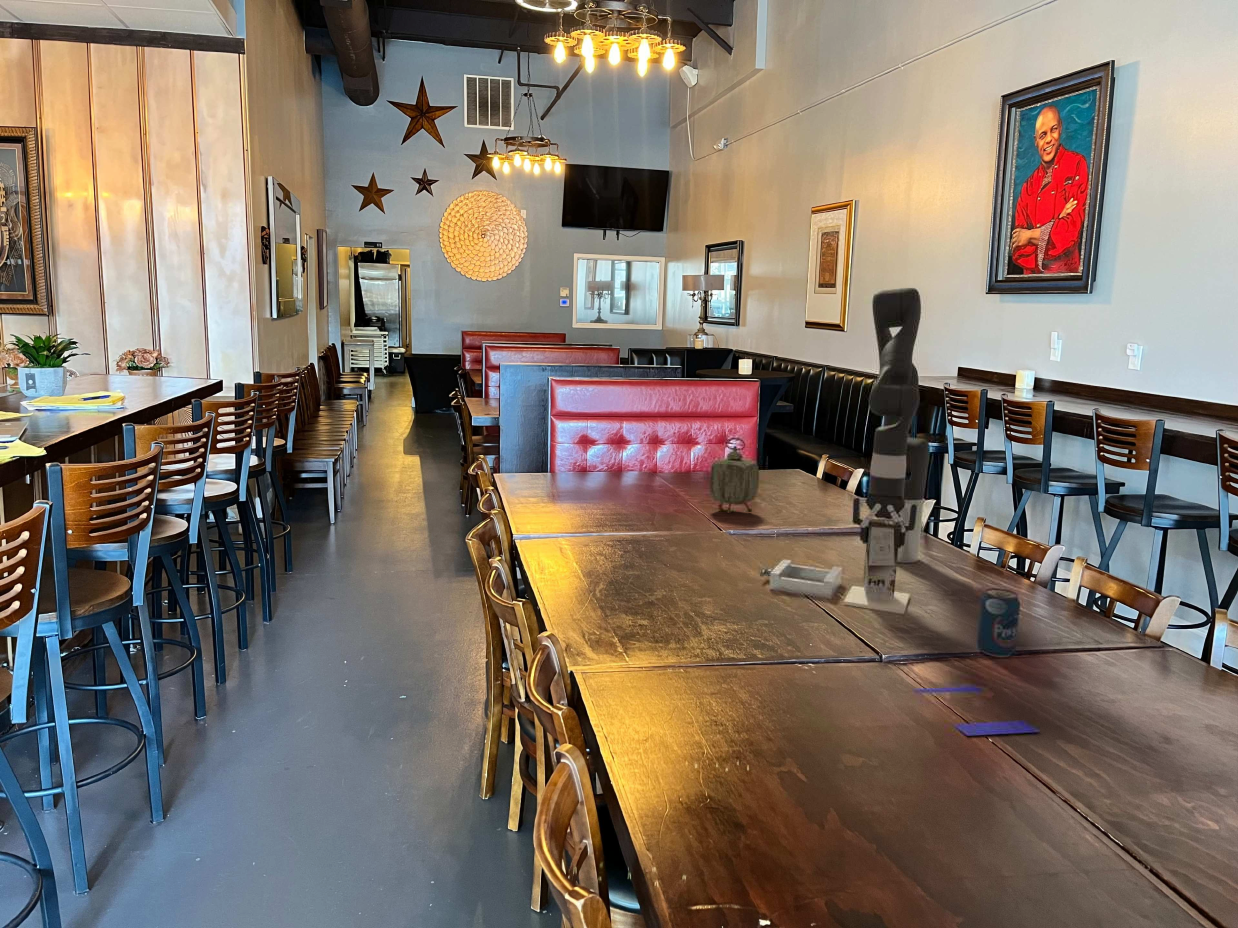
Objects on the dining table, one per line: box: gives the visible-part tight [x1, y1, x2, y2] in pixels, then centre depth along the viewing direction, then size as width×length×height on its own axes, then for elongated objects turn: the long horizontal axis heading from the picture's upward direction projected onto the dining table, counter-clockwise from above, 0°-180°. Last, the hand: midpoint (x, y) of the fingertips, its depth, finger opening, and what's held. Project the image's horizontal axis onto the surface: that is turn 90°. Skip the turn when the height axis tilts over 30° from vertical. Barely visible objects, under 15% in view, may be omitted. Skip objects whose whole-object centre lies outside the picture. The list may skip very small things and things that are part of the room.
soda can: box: [976, 587, 1021, 658], centre depth 166 cm, size 7×7×12 cm
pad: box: [843, 585, 911, 615], centre depth 196 cm, size 13×13×1 cm
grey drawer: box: [759, 559, 843, 599], centre depth 206 cm, size 13×18×4 cm
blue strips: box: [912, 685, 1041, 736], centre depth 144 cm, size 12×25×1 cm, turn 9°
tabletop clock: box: [709, 437, 760, 513], centre depth 282 cm, size 14×9×25 cm, turn 58°
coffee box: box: [862, 518, 900, 598], centre depth 194 cm, size 9×6×16 cm
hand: (881, 544), depth 194 cm, fingers closed on coffee box, 7 cm apart
